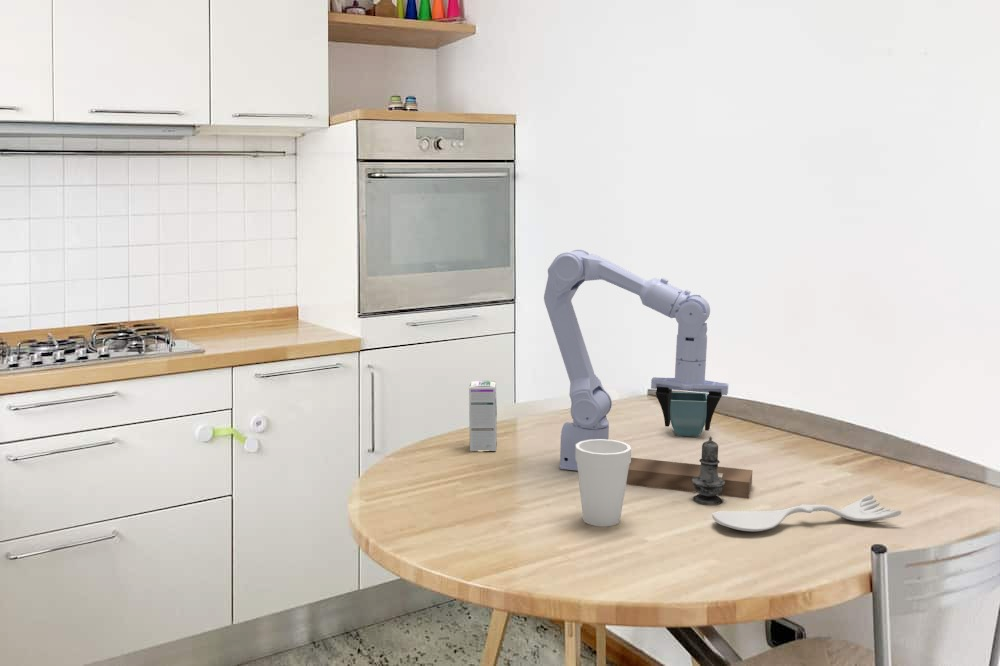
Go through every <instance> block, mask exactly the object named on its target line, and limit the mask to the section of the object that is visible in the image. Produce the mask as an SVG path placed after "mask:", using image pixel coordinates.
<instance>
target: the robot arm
mask: <svg viewBox="0 0 1000 666" xmlns="http://www.w3.org/2000/svg"><path fill="white" fill-rule="evenodd" d="M599 280H601V281H605V282H607V283H609V284H612V285H615V286H617V287H619V288H621V289H623V290H626V291H627V292H631V293H633V294H635V295H638V297H639V299H640V301H641V303H642V305H643V306H645V307H647V308H650V309H652V310H653V311H656V312H657V313H659V314H662V315H664V316H666V317H668V318H670V319H675V320H676V322H677V324H678V325H677V334H676V347H675V348H676V349H675V368H674V369H675V370H674V377H656V376H655V377H654V376H653V377H652V378H651V382H650V383H651V384H650V389H651V390H652V389H653V390H656V391H655V396H656V399H657V401H658V402H659V405H660V407H661V408H660V409H661V411H662V415H663V419H664V426H665V427H667V428H669V427H670V425H671V414H670V406H671V395H672V392H673V391H682V392H683V391H684V392H692V393H706V394H707V412H706V422H705V425H704V431H710V429H711V423H712V418H713V416H714V413H715V411H716V408H717V406H718V403H719V402H720V401H721V398H722V396H728V394H729V383H728V382H727V383H725V382H719V381H713V380H706V366H707V350H708V349H707V348H708V335H707V332H708V325H707V322H706V321H707V320H708V319H709V317H710V314H711V307H710V304H709V302H708V301H707V300H706V299H705V298H704V297H702V296H701V295H700V294H691V293H692V292H691V291H690V290H688V289H685V290H682V289H680V288H679V287H677V286H674V285H672V284H669V279H667V278H665V277H661V278H660V279H659V278H657V277H655V278H654V277H653V278H651V279H649V280H646V279H644V278H642V277H640V276H638V275H637V274H635V273H632V272H631V271H629V270H627V269H625V268H623V267H621V266H620V265H618V264H615V263H613V262H612V261H610V260H608V259H606V258H604V257H601V256H600V255H597V254H593V253H589V252H587V251H586V250H582V249H575V250H572V251H569V252H568V251H567V252H561V253H560V254H558V255H557V256H555V258H554V259H553V261H552V262H551V264H550V265H549V267H548V268H547V280H546V284H545V285H546V286H545V289H544V295H543V301H544V305H545V308H546V310H547V314H548V317H549V319H550V323H551V327H552V330H553V332H554V333H553V334H554V336H555V339H556V342H557V345H558V348H559V352H560V354H561V358H562V360H563V361H562V362H563V363H564V367H565V370H566V373H567V376H568V379H569V383H570V385H569V397H570V402H571V405H570V415H571V419H572V422H567V421H566V422H564V423H563V425H562V428H561V431H560V433H561V434H560V448H559V451H560V452H559V453H560V454H559V455H560V459H559V467H558V469H560V470H569V471H577V472H578V467H577V462H576V458H575V453H576V444H577V443H579V442H581V441H585V440H592V439H606V440H609V437H610V436H609V434H610V433H609V431H610V430H609V428H610V427H609V426H610V422H609V420H608V418H607V415H608V414H609V413H610V411H611V409H612V405H613V403H612V398H611V396H610V394H609V393H608V392H607V390H605V389H604V387H603V385H602V381H601V379H599V377H598V376H597V375H596V374H595V371H594V368H593V364H592V361H591V358H590V356H589V353H588V350H587V346H586V343H585V340H584V337H583V336H584V335H583V334H582V331H581V327H580V324H579V322H578V318H577V315H576V311H575V309H574V306H573V303H572V299H573V298H574V296H575V295H576V293H577V292H578V289H579V287H580V286H581V285H582V284H584V282H587V281H589V282H590V281H599Z"/></svg>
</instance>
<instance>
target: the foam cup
mask: <svg viewBox="0 0 1000 666" xmlns="http://www.w3.org/2000/svg"><path fill="white" fill-rule="evenodd" d="M631 447H632V446H631V445H630V444H628V443H626V442H625V441H621V440H620V441H619V440H615V439H608V440H606V439H592V440H585V441H581V442H579V443H577V444H576V453H575V458H576V462H577V467H578V471H577V474H578V475H577V476H578V485H579V493H580V504H581V511H582V513H581V514H582V520H583V522H584V523H586V524H587V525H590V526H594V527H601V528H602V527H613V526H617V525H618V524H619V523H620V519H621V516H622V511H623V505H624V499H625V498H624V497H625V492H626V486H627V484H626V481H627V475H628V469H629V463H631V458H632V448H631Z"/></svg>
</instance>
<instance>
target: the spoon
mask: <svg viewBox="0 0 1000 666" xmlns="http://www.w3.org/2000/svg"><path fill="white" fill-rule="evenodd" d="M874 497H875V496H874V495H873V494H868V495H866V496H863V497H862V498H860V499H858V500H856V501H854V502H852V503H850V504H847V505H846V506H844V507H843V508H841V509H837V508H835V507H833V506H831V505H827V504H803V503H802V504H801V503H800V504H799V505H796V506H792V507H789V508H783V509H777V510H776V509H775V510H719V511H714V512H712V514H711V517H712V519H713V520H714V521H715V522H716V523H717V524H719V525H721V526H723V527H726V528H730V529H733V530H737V531H740V532H751V533H753V532H754V533H755V532H763V531H767V530H771V529H774V528H775V527H777V526H778V525H780V523H782V522H783V521H784V520H785V519H786V517H789V516H790V515H792V514H797V513H806V514H811V513H813V512H828V513H831V514H834V515H836V516H837V517H838V516H839V517H841V518H843V519H846V520H848V521H853V522H868V521H876V520H883V519H884V520H885V519H889V518H895V517H898V516H901V514H902V510H901V509H898V510H896V509H890V508H885V506H880V504H881V503H880V502H877V499H876V498H875V499H874Z"/></svg>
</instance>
